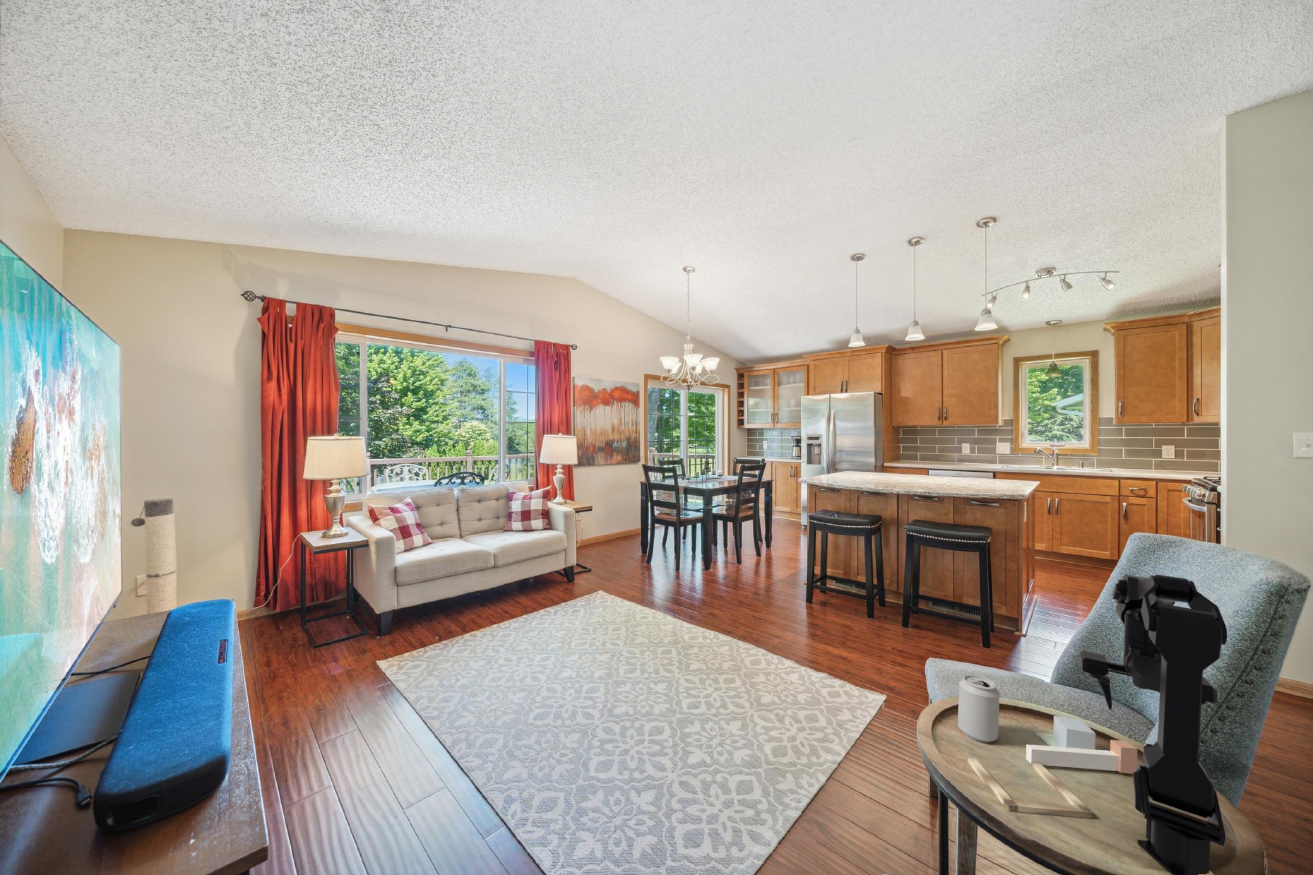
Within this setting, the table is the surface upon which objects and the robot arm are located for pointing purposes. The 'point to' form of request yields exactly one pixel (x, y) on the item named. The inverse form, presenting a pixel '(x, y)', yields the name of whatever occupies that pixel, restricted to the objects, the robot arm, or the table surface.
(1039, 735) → the mat
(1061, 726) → the block
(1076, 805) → the wooden u frame
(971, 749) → the table surface
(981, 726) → the can
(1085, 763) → the bar
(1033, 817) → the table surface
